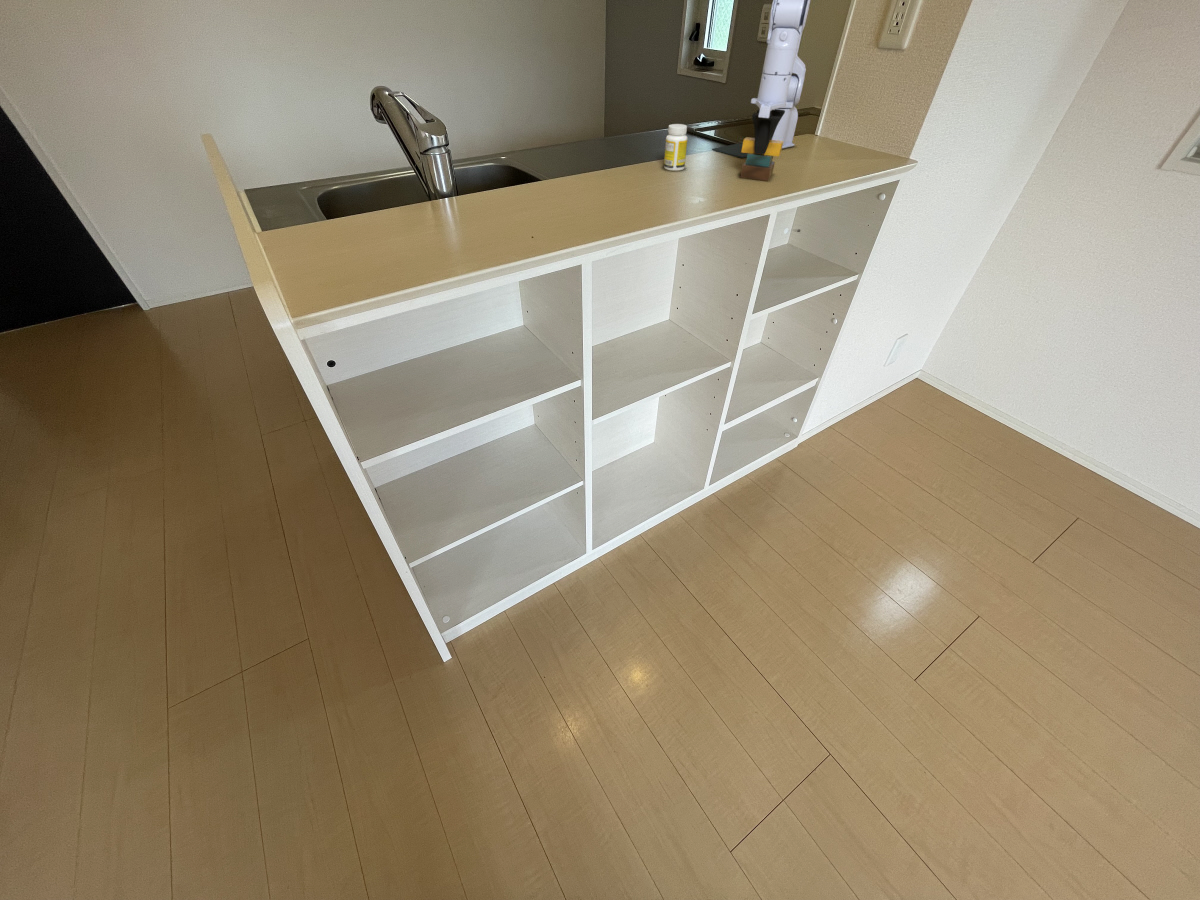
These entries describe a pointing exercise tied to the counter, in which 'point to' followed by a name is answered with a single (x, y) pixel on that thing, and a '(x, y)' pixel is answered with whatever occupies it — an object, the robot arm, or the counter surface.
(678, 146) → the supplement bottle
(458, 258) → the counter surface
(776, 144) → the bar
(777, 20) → the robot arm
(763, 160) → the two-tone stacked block
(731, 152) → the mat
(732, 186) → the counter surface
